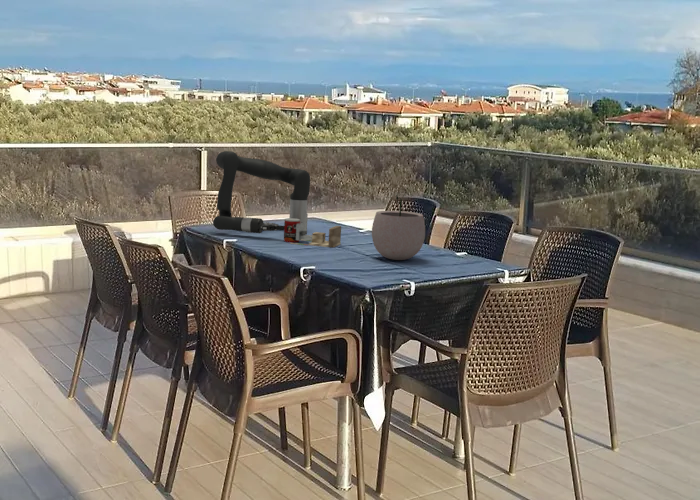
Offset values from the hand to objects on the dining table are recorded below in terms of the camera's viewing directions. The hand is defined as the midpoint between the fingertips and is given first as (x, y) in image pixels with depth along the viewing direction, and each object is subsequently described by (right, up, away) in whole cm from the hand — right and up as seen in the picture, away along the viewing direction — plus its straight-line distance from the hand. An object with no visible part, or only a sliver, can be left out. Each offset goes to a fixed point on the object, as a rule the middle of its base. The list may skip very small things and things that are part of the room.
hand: (284, 228), depth 403 cm
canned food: (+3, -7, 0) cm, 7 cm away
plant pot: (+53, -15, -35) cm, 65 cm away
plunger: (+13, -6, -3) cm, 15 cm away
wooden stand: (+16, -8, -3) cm, 18 cm away
